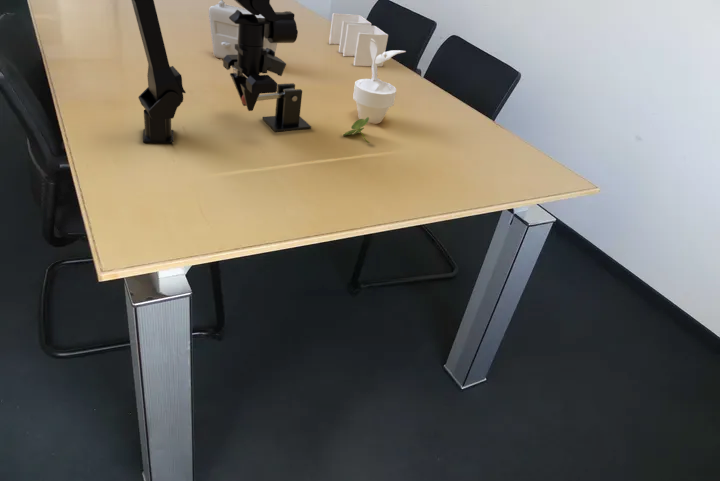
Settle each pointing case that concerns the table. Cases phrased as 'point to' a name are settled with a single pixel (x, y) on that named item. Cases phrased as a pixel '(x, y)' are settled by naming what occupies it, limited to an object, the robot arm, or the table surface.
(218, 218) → the table surface
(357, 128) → the seedling
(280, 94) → the red knob lever
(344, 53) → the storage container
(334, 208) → the table surface
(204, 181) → the table surface
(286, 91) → the lever base
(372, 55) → the potted plant
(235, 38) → the radio
